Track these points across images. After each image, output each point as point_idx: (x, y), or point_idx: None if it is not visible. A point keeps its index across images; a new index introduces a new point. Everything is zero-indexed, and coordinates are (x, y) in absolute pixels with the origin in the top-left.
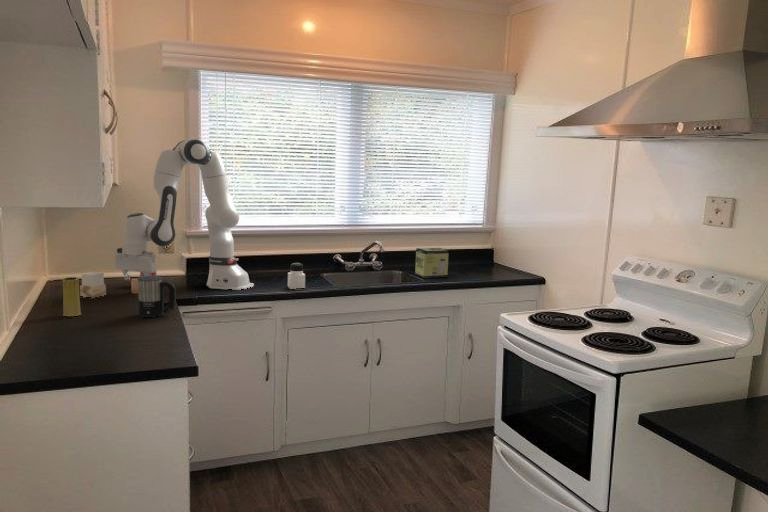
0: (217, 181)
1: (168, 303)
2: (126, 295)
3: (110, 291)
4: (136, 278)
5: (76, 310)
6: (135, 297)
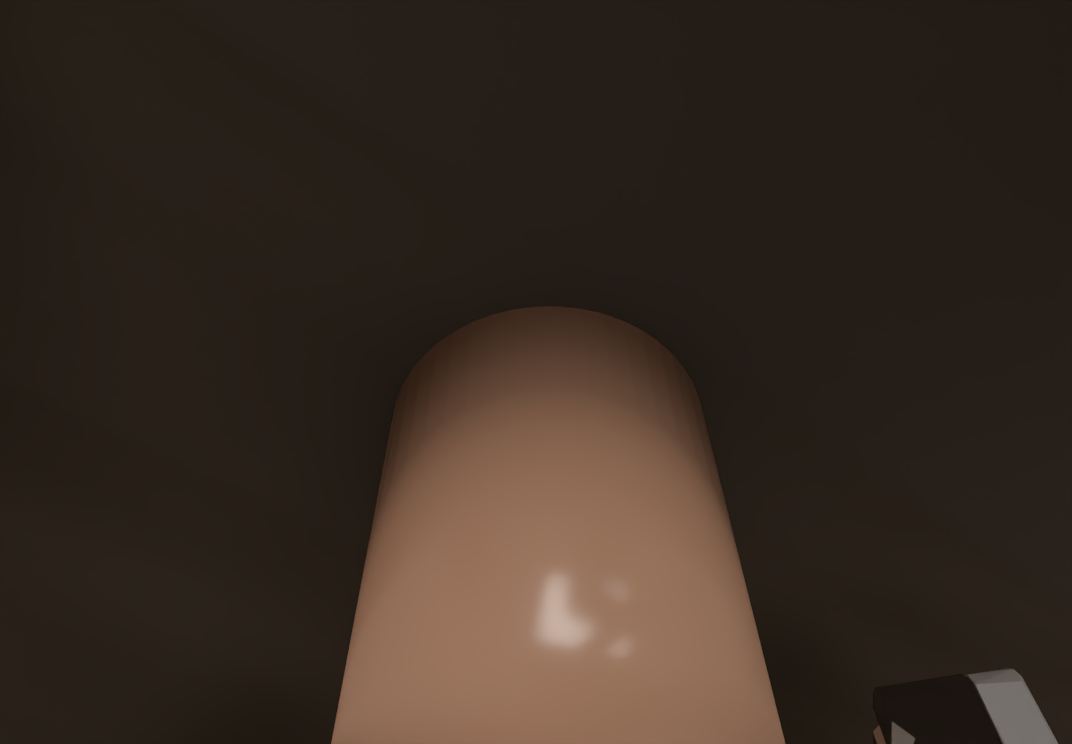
0: None
1: None
2: None
3: (3, 682)
4: (347, 721)
5: None
6: None
